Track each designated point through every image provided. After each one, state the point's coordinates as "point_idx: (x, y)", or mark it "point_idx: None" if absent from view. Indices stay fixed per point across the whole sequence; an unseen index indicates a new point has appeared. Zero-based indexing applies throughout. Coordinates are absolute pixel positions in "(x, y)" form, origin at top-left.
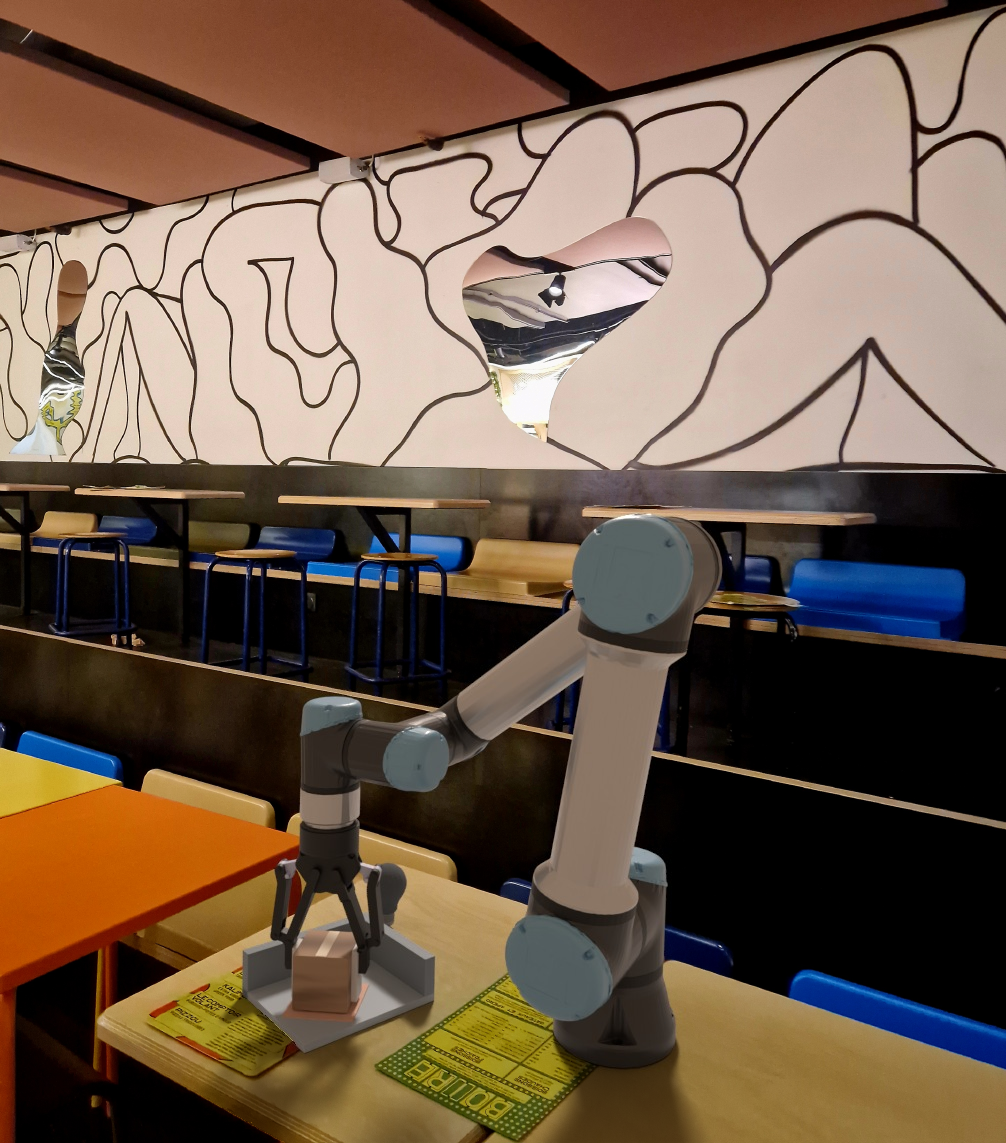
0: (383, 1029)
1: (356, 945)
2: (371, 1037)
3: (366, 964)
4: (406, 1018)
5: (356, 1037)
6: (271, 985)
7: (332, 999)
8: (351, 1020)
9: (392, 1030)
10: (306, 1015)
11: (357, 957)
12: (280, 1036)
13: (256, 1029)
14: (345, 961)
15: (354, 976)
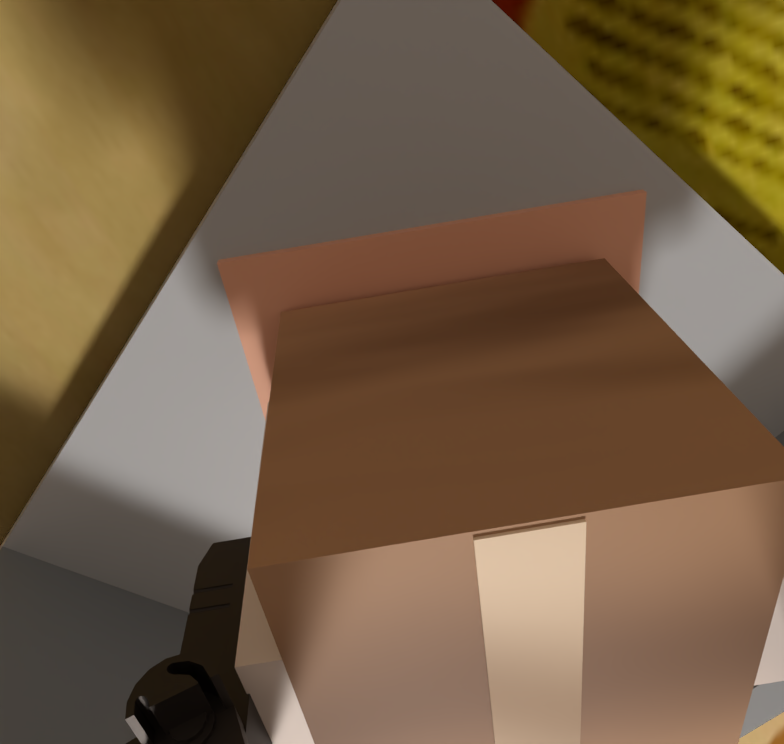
0: (71, 294)
1: (297, 725)
2: (86, 206)
3: (198, 599)
4: (22, 408)
5: (167, 183)
6: None
7: (370, 332)
8: (227, 263)
9: (19, 298)
10: (505, 239)
11: (241, 625)
12: (600, 69)
13: (756, 101)
14: (271, 540)
15: None
